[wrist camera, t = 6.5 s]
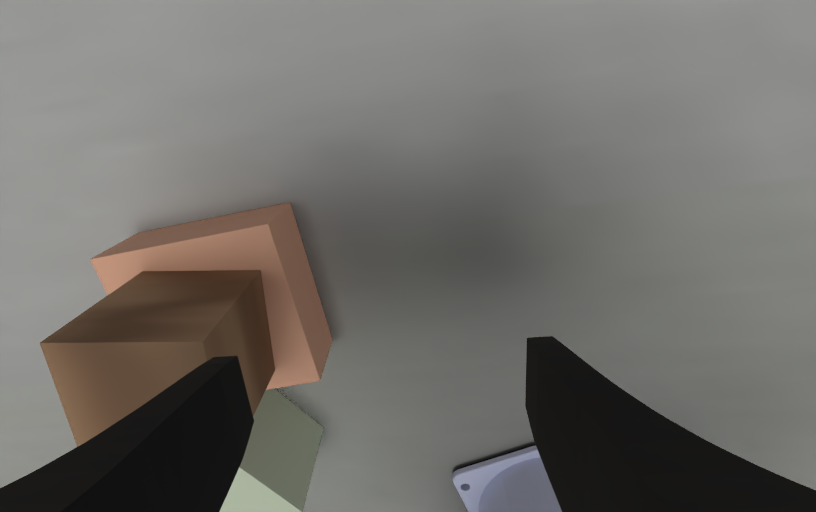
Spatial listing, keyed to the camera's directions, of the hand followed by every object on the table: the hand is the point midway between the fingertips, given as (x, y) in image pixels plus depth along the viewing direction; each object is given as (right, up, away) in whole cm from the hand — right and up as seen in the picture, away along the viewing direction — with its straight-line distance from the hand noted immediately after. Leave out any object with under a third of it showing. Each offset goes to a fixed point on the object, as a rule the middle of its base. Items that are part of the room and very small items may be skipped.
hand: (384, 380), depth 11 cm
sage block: (-7, -6, +13) cm, 16 cm away
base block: (-7, +2, +10) cm, 12 cm away
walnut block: (-7, 0, +7) cm, 10 cm away
